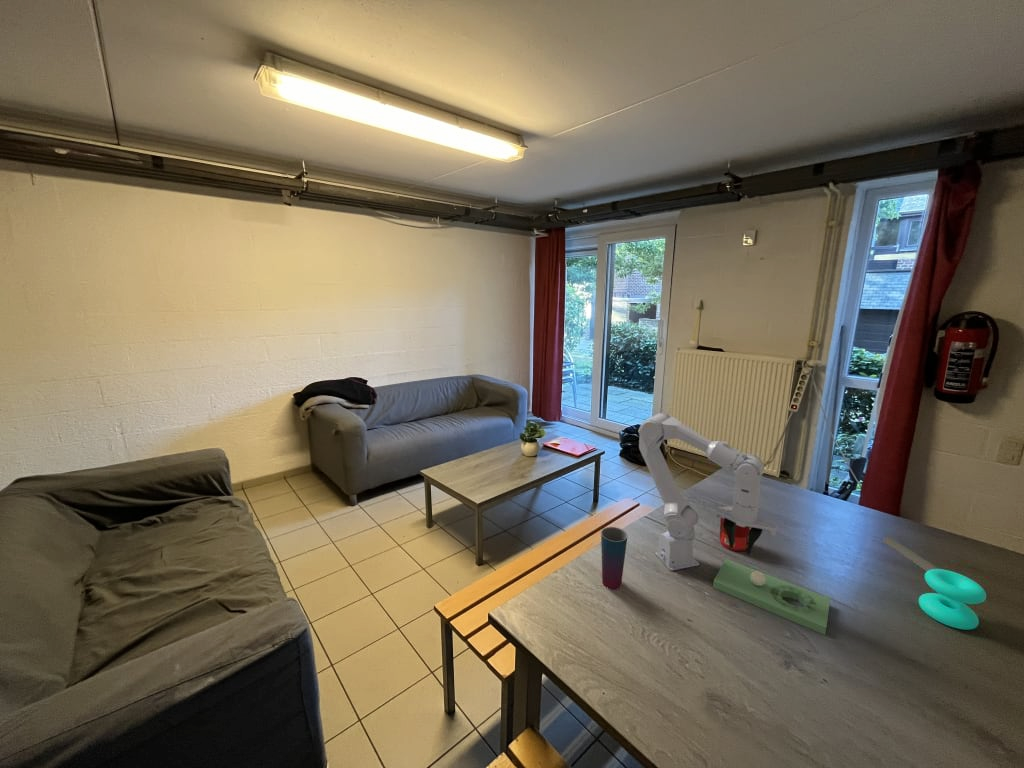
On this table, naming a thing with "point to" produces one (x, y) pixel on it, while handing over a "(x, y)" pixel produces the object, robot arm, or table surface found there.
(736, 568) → the green
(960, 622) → the donuts
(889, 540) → the half round rod
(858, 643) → the table surface
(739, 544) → the canned food
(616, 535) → the cup
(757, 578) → the ball
